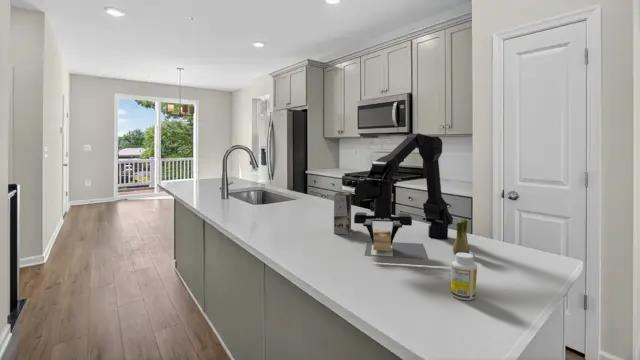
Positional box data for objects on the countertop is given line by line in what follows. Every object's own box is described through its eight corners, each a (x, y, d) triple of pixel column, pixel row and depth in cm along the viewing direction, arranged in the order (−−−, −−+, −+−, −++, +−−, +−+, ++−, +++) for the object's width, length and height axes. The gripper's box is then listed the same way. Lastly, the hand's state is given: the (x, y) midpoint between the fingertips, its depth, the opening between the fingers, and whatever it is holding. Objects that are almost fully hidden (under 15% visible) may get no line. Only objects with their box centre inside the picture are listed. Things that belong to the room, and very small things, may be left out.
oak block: (390, 250, 114) (390, 237, 113) (373, 249, 115) (373, 236, 114) (390, 243, 123) (390, 230, 122) (374, 242, 124) (374, 229, 123)
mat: (422, 245, 128) (422, 243, 127) (428, 261, 110) (428, 258, 110) (367, 242, 131) (367, 240, 131) (364, 257, 114) (364, 255, 113)
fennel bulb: (457, 258, 113) (459, 221, 111) (448, 254, 117) (449, 218, 116) (473, 257, 114) (474, 220, 113) (463, 252, 119) (464, 217, 118)
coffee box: (349, 234, 143) (349, 195, 141) (333, 233, 144) (333, 194, 142) (351, 229, 152) (351, 192, 150) (336, 228, 153) (336, 191, 151)
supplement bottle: (466, 290, 88) (468, 250, 87) (480, 300, 82) (482, 257, 81) (446, 292, 87) (447, 251, 86) (458, 302, 81) (460, 259, 80)
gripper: (410, 195, 123) (409, 238, 125) (356, 194, 127) (356, 236, 128) (412, 200, 112) (411, 247, 114) (354, 198, 116) (353, 245, 117)
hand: (382, 243), depth 119 cm, fingers closed on oak block, 5 cm apart
